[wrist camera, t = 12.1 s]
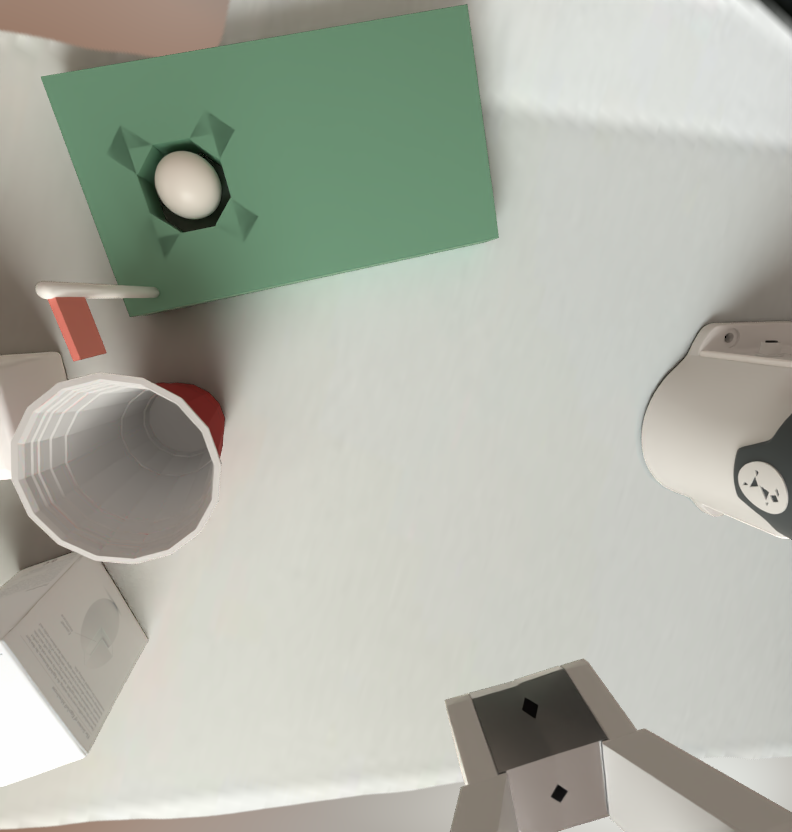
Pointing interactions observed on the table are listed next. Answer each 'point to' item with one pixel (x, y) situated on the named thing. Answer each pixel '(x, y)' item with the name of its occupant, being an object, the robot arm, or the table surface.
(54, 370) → the medicine bottle
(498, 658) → the table surface
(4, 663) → the skincare box
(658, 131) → the table surface
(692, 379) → the robot arm
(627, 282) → the table surface
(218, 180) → the ball
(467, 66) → the putting deck
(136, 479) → the plastic cup
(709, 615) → the table surface
